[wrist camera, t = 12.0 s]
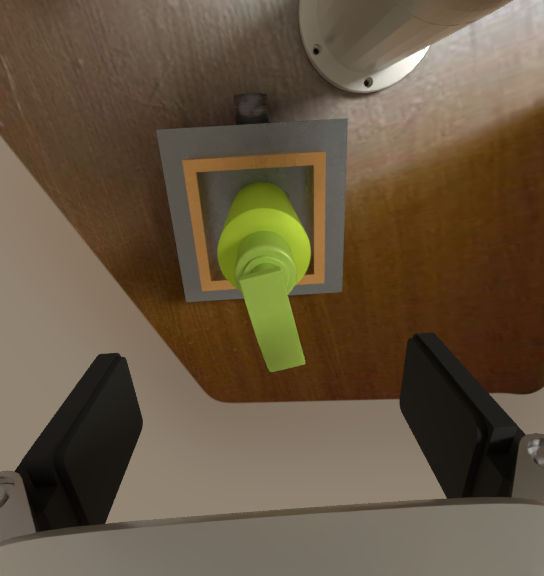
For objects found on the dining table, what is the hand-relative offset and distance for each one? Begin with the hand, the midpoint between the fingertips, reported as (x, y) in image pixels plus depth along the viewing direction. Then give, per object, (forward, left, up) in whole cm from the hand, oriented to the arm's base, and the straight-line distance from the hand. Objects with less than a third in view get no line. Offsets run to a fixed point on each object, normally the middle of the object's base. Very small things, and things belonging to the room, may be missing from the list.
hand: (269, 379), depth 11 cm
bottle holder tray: (-1, 0, -28) cm, 28 cm away
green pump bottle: (0, 0, -24) cm, 25 cm away
